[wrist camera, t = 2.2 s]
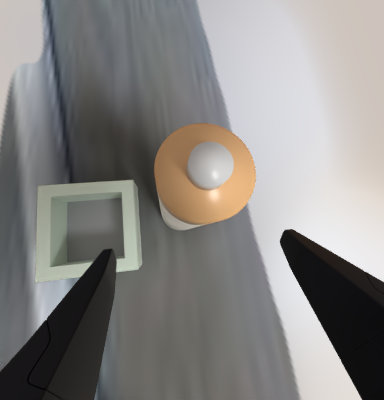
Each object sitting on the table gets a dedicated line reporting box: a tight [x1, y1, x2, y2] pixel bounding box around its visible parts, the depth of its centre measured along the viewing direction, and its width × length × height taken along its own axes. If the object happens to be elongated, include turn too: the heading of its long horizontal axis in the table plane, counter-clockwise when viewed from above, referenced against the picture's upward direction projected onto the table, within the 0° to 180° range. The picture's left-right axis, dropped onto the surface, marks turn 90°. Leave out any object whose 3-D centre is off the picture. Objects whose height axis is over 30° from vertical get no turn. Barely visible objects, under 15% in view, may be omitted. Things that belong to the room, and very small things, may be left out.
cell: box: [154, 123, 256, 231], centre depth 13 cm, size 4×4×14 cm
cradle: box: [35, 180, 142, 283], centre depth 17 cm, size 8×8×3 cm
